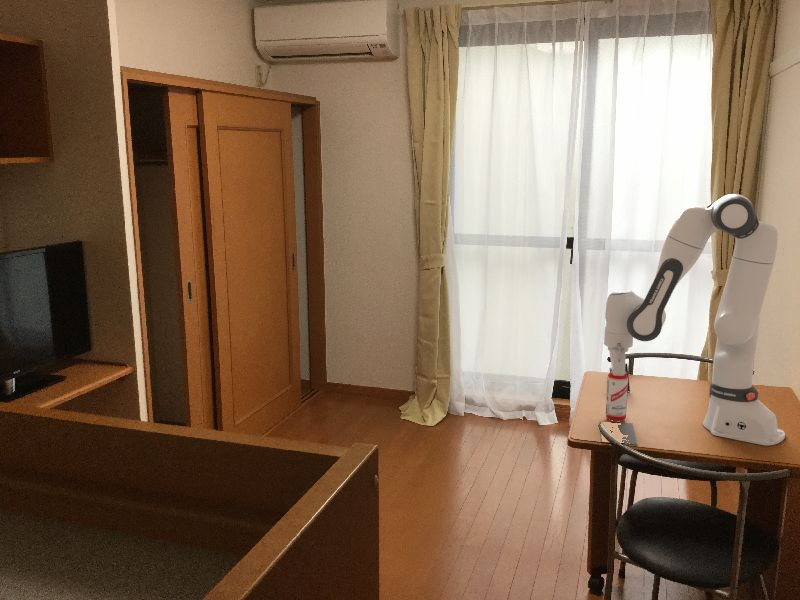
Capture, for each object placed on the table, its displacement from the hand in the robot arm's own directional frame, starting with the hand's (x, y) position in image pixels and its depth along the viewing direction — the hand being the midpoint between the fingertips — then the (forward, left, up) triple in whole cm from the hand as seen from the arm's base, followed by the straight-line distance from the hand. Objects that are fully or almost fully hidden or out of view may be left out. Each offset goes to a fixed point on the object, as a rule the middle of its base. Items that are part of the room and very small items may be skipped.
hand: (616, 381), depth 224 cm
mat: (-9, +15, -11) cm, 21 cm away
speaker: (+11, -21, -11) cm, 27 cm away
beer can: (-3, +5, -11) cm, 12 cm away
